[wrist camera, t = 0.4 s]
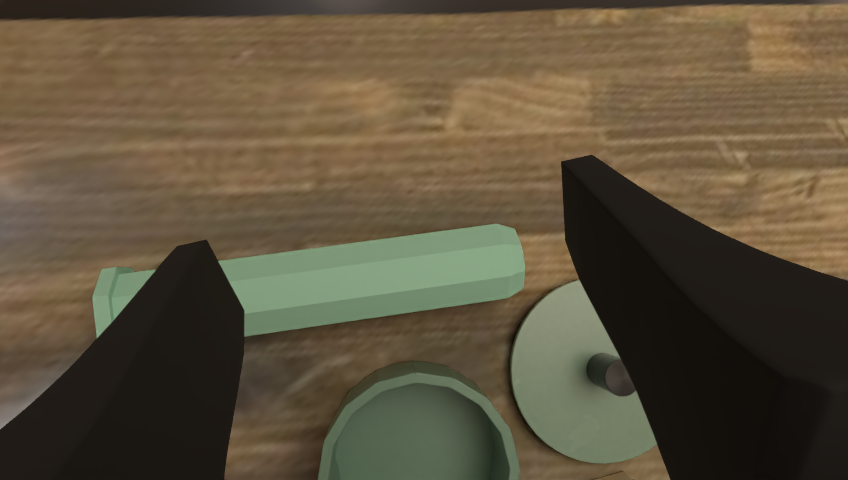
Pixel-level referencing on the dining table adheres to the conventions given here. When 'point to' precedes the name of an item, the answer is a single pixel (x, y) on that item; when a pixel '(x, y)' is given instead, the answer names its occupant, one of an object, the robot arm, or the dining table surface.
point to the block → (616, 477)
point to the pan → (417, 429)
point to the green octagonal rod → (352, 279)
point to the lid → (576, 382)
